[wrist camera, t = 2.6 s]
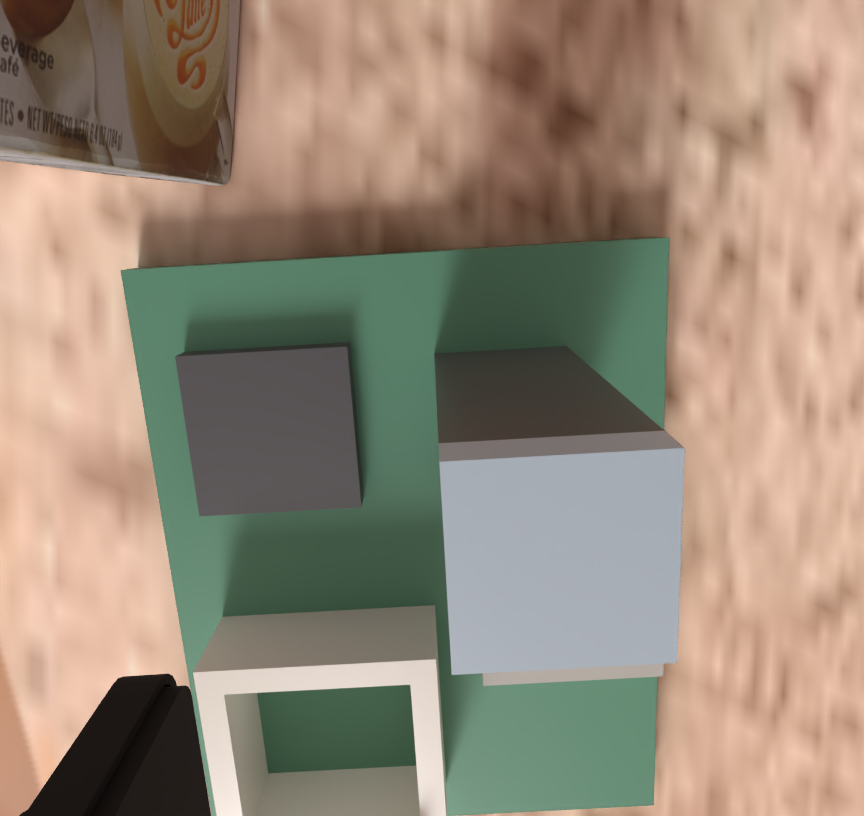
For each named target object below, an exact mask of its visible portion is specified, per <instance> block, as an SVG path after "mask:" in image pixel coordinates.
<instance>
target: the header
mask: <svg viewBox="0 0 864 816" xmlns="http://www.w3.org/2000/svg"><path fill="white" fill-rule="evenodd" d="M193 676H194V682H195V688H196V694H197V700H198V706H199V712H200V718H201V724H202V730H203V736H204V742H205V748H206V754H207V761H208V767H209V773H210V779H211V785H212V791H213V797H214V803H215V809H216V815H217V816H447V792H446V772H445V756H444V740H443V724H442V708H441V693H440V677H439V661H438V645H437V629H436V613H435V605H428V606H410V607H392V608H374V609H355V610H337V611H319V612H300V613H282V614H264V615H246V616H227V617H222V618H221V620H220V622H219V624H218V626H217V628H216V630H215V632H214V633H213V635H212V637H211V639H210V641H209V643H208V645H207V647H206V649H205V651H204V652H203V654H202V656H201V658H200V660H199V662H198V664H197V666H196V668H195V670H194V671H193ZM394 685H410V687H411V700H412V713H413V726H414V740H415V753H416V766H397V767H378V768H359V769H340V770H321V771H302V772H283V773H268V768H267V761H266V754H265V747H264V740H263V732H262V725H261V718H260V711H259V704H258V697H257V693H263V692H282V691H301V690H319V689H338V688H356V687H375V686H394Z"/></svg>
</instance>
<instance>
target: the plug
mask: <svg viewBox="0 0 864 816" xmlns="http://www.w3.org/2000/svg"><path fill="white" fill-rule="evenodd" d="M434 363H435V383H436V404H437V424H438V444H439V464H440V482H441V499H442V516H443V533H444V551H445V568H446V585H447V602H448V620H449V637H450V654H451V671H452V675H460V674H478V673H497V672H516V671H534V670H553V669H571V668H590V667H608V666H627V665H646V664H664V663H677V652H678V624H679V595H680V567H681V539H682V510H683V482H684V453H685V448H684V447H683V446H682V445H681V444H680V443H678V442H677V441H676V440H675V439H674V438H673V437H671V436H670V435H669V434H668V433H667V432H666V431H664V430H663V429H662V428H661V427H660V426H659V425H658V424H656V423H655V422H654V421H653V420H652V419H651V418H649V417H648V416H647V415H646V414H645V413H644V412H642V411H641V410H640V409H639V408H638V407H637V406H635V405H634V404H633V403H632V402H631V401H630V400H629V399H627V398H626V397H625V396H624V395H623V394H622V393H620V392H619V391H618V390H617V389H616V388H615V387H613V386H612V385H611V384H610V383H609V382H608V381H607V380H605V379H604V378H603V377H602V376H601V375H600V374H598V373H597V372H596V371H595V370H594V369H593V368H591V367H590V366H589V365H588V364H587V363H586V362H585V361H583V360H582V359H581V358H580V357H579V356H578V355H576V354H575V353H574V352H573V351H572V350H571V349H569V348H568V347H567V346H559V347H541V348H524V349H507V350H490V351H472V352H455V353H438V354H434Z"/></svg>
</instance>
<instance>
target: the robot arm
mask: <svg viewBox="0 0 864 816" xmlns="http://www.w3.org/2000/svg"><path fill="white" fill-rule="evenodd" d="M20 816H211V813H210V807H209V800H208V794H207V788H206V781H205V775H204V769H203V762H202V756H201V750H200V744H199V737H198V731H197V725H196V718H195V712H194V706H193V699H192V695H191V691H190V689H189V687H187V686H177V685H176V681H175V679H174V678H173V676H172V675H170V674H158V675H143V676H127V677H121V678H118V679H117V681H116V682H115V683H114V684H113V685H112V687H111V688H110V690H109V691H108V693H107V694H106V696H105V697H104V698H103V700H102V701H101V703H100V704H99V706H98V707H97V709H96V710H95V712H94V713H93V715H92V716H91V718H90V719H89V721H88V722H87V724H86V725H85V726H84V728H83V729H82V731H81V732H80V734H79V735H78V737H77V738H76V740H75V741H74V743H73V744H72V746H71V747H70V749H69V750H68V752H67V753H66V754H65V756H64V757H63V759H62V760H61V762H60V763H59V765H58V766H57V768H56V769H55V771H54V772H53V774H52V775H51V777H50V778H49V780H48V781H47V782H46V784H45V785H44V787H43V788H42V790H41V791H40V793H39V794H38V796H37V797H36V799H35V800H34V802H33V803H32V805H31V806H30V808H29V809H28V810H26V811H25V812H23V813H22V814H21V815H20Z"/></svg>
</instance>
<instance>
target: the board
mask: <svg viewBox="0 0 864 816" xmlns="http://www.w3.org/2000/svg"><path fill="white" fill-rule="evenodd" d="M668 259H669V238H662V237H651V238H634V239H617V240H600V241H584V242H567V243H550V244H533V245H516V246H499V247H482V248H465V249H449V250H432V251H415V252H398V253H381V254H364V255H347V256H330V257H314V258H297V259H280V260H263V261H246V262H229V263H212V264H195V265H179V266H162V267H145V268H133V269H126V270H121V275H122V281H123V287H124V293H125V299H126V305H127V311H128V317H129V323H130V329H131V335H132V341H133V347H134V353H135V359H136V365H137V371H138V377H139V383H140V389H141V395H142V401H143V407H144V413H145V419H146V425H147V431H148V437H149V443H150V449H151V455H152V461H153V467H154V473H155V479H156V485H157V491H158V497H159V503H160V509H161V515H162V521H163V527H164V533H165V539H166V545H167V551H168V557H169V563H170V569H171V575H172V581H173V586H174V592H175V598H176V604H177V610H178V616H179V622H180V628H181V634H182V640H183V646H184V652H185V658H186V664H187V670H188V676H189V682H190V688H191V694H192V699H193V706H194V712H195V718H196V724H197V730H198V736H199V742H200V748H201V754H202V760H203V766H204V772H205V778H206V784H207V790H208V796H209V802H210V808H211V814H212V816H217V815H216V809H215V803H214V797H213V791H212V785H211V779H210V773H209V767H208V761H207V754H206V748H205V742H204V736H203V730H202V724H201V718H200V712H199V706H198V700H197V694H196V688H195V682H194V676H193V671H194V670H195V668H196V666H197V664H198V662H199V660H200V658H201V656H202V654H203V652H204V651H205V649H206V647H207V645H208V643H209V641H210V639H211V637H212V635H213V633H214V632H215V630H216V628H217V626H218V624H219V622H220V620H221V618H222V617H227V616H246V615H264V614H282V613H300V612H319V611H337V610H355V609H374V608H392V607H410V606H428V605H435V613H436V629H437V645H438V661H439V677H440V693H441V708H442V724H443V740H444V756H445V772H446V792H447V816H456V815H475V814H494V813H514V812H533V811H552V810H571V809H591V808H610V807H629V806H648V805H654V776H655V739H656V702H657V677H659V676H663V667H664V664H646V665H627V666H608V667H590V668H571V669H553V670H534V671H516V672H497V673H478V674H460V675H452V671H451V654H450V637H449V620H448V602H447V585H446V568H445V551H444V533H443V516H442V499H441V482H440V464H439V444H438V424H437V404H436V383H435V363H434V354H438V353H455V352H472V351H490V350H507V349H524V348H541V347H559V346H567V347H568V348H569V349H571V350H572V351H573V352H574V353H575V354H576V355H578V356H579V357H580V358H581V359H582V360H583V361H585V362H586V363H587V364H588V365H589V366H590V367H591V368H593V369H594V370H595V371H596V372H597V373H598V374H600V375H601V376H602V377H603V378H604V379H605V380H607V381H608V382H609V383H610V384H611V385H612V386H613V387H615V388H616V389H617V390H618V391H619V392H620V393H622V394H623V395H624V396H625V397H626V398H627V399H629V400H630V401H631V402H632V403H633V404H634V405H635V406H637V407H638V408H639V409H640V410H641V411H642V412H644V413H645V414H646V415H647V416H648V417H649V418H651V419H652V420H653V421H654V422H655V423H656V424H658V425H659V426H660V427H661V428H662V429H663V430H664V407H665V370H666V333H667V296H668ZM257 697H258V704H259V711H260V718H261V725H262V732H263V740H264V747H265V754H266V761H267V768H268V773H283V772H302V771H321V770H340V769H359V768H378V767H397V766H416V753H415V740H414V726H413V713H412V700H411V687H410V685H394V686H375V687H356V688H338V689H319V690H301V691H282V692H263V693H257Z"/></svg>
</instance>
